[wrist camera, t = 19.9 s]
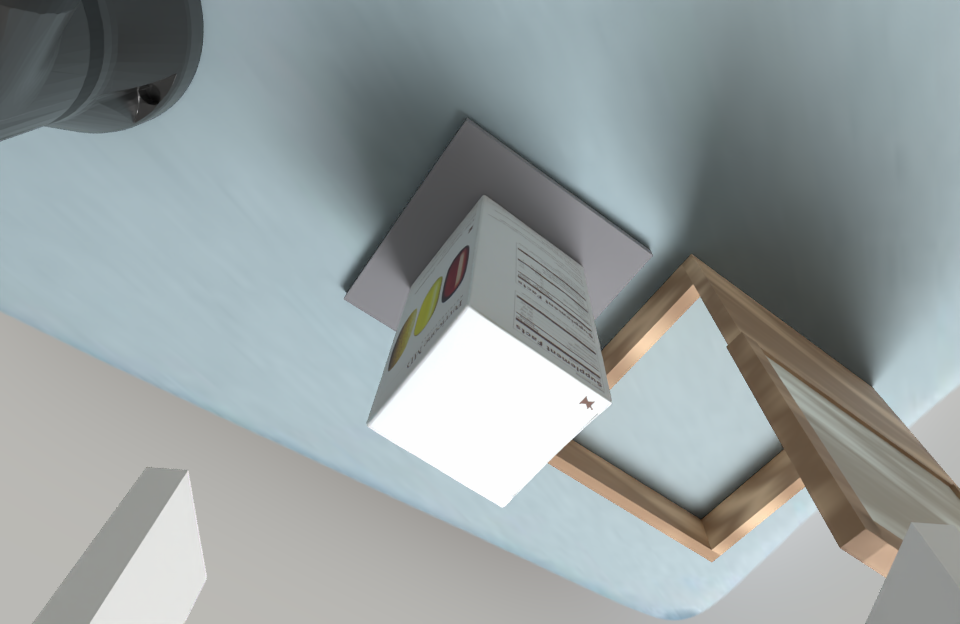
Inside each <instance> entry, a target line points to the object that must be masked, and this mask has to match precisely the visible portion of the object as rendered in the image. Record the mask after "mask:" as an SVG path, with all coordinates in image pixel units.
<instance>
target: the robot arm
mask: <svg viewBox="0 0 960 624" xmlns="http://www.w3.org/2000/svg"><path fill="white" fill-rule="evenodd" d="M202 45H203V13H202V7H201V1H200V0H0V141H3V140H6V139H9V138H11V137H14V136H17V135H20V134H23V133H26V132H29V131H32V130H34V129H37V128H40V127H43V126H45V127H51V128H57V129H63V130H70V131H76V132H83V133H109V132H116V131H121V130H125V129H129V128H132V127H134V126H137V125H139V124H142V123H144V122H146V121H149V120H151V119H153V118H155V117H157V116H159V115H161V114H162V113H164V112H165V111H167V110H168V109H169V108H170V107H172V106H173V105H174V104H175V103H176V102H177V101H178V100H179V99H180V98H181V96H182V95H183V94H184V92H185V91H186V90H187V88H188V86H189V85H190V83H191V81H192V79H193V77H194V75H195V72H196V70H197V67H198V64H199V61H200V56H201V52H202ZM206 579H207V574H206V569H205V563H204V557H203V552H202V547H201V540H200V534H199V529H198V523H197V517H196V512H195V506H194V501H193V494H192V489H191V483H190V477H189V472H188V470H180V469H166V468H152V467H146V469H145V470H144V471H143V473H142V474H141V476H140V477H139V478H138V480H137V481H136V482H135V484H134V485H133V486H132V488H131V489H130V490H129V492H128V493H127V495H126V496H125V497H124V499H123V500H122V501H121V503H120V504H119V506H118V507H117V508H116V510H115V511H114V512H113V514H112V515H111V517H110V518H109V519H108V521H107V522H106V523H105V525H104V526H103V527H102V529H101V530H100V532H99V533H98V534H97V536H96V537H95V538H94V540H93V541H92V543H91V544H90V545H89V547H88V548H87V549H86V551H85V552H84V554H83V555H82V556H81V558H80V559H79V560H78V562H77V563H76V564H75V566H74V567H73V569H72V570H71V571H70V573H69V574H68V575H67V577H66V578H65V580H64V581H63V582H62V584H61V585H60V586H59V588H58V589H57V591H56V592H55V593H54V595H53V596H52V597H51V599H50V600H49V601H48V603H47V604H46V606H45V607H44V608H43V610H42V611H41V612H40V614H39V615H38V616H37V618H36V619H35V621H34V622H33V623H32V624H184V623H185V621H186V619H187V617H188V615H189V613H190V611H191V609H192V607H193V605H194V603H195V601H196V599H197V597H198V595H199V593H200V591H201V589H202V587H203V585H204V583H205V581H206ZM865 624H960V532H959V531H958V529H957V528H956V527H955V526H954V525H944V524H930V523H916V522H911V524H910V527H909V529H908V531H907V533H906V535H905V538H904V540H903V542H902V544H901V546H900V548H899V551H898V553H897V555H896V557H895V559H894V562H893V564H892V566H891V568H890V570H889V573H888V575H887V577H886V579H885V581H884V584H883V586H882V588H881V590H880V592H879V595H878V597H877V599H876V601H875V603H874V606H873V608H872V610H871V612H870V614H869V616H868V619H867V621H866V623H865Z"/></svg>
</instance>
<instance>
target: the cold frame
mask: <svg viewBox="0 0 960 624" xmlns="http://www.w3.org/2000/svg"><path fill="white" fill-rule="evenodd" d="M699 297H701V299H702V300H703V302H704V304H705V306H706V307H707V309H708V311H709V313H710V314H711V316H712V318H713V320H714V321H715V323H716V325H717V327H718V328H719V330H720V332H721V334H722V335H723V337H724V339H725V341H726V342H727V344H728V346H727V349H728V351H729V352H730V354H731V356H732V358H733V360H734V361H735V363H736V365H737V367H738V368H739V370H740V372H741V374H742V375H743V377H744V379H745V381H746V383H747V384H748V386H749V388H750V390H751V391H752V393H753V395H754V397H755V398H756V400H757V402H758V404H759V406H760V407H761V409H762V411H763V413H764V414H765V416H766V418H767V420H768V421H769V423H770V425H771V427H772V429H773V430H774V432H775V434H776V436H777V437H778V439H779V441H780V443H781V444H782V446H783V448H784V450H782V451H781V452H780V453H779V454H778V455H777V456H775V457H774V458H773V459H772V460H771V461H770V462H768V463H767V464H766V465H765V466H764V467H762V468H761V469H760V470H759V471H758V472H757V473H755V474H754V475H753V476H752V477H751V478H750V479H748V480H747V481H746V482H745V483H744V484H743V485H741V486H740V487H739V488H738V489H737V490H736V491H734V492H733V493H732V494H731V495H730V496H728V497H727V498H726V499H725V500H724V501H723V502H721V503H720V504H719V505H718V506H717V507H716V508H714V509H713V510H712V511H711V512H710V513H709V514H707V515H706V516H705V517H704V518H703V519H702V520H701V519H699V518H698V517H696V516H694V515H693V514H691V513H690V512H688V511H686V510H685V509H683V508H681V507H680V506H678V505H677V504H675V503H673V502H672V501H670V500H669V499H667V498H665V497H664V496H662V495H660V494H659V493H657V492H656V491H654V490H652V489H651V488H649V487H648V486H646V485H644V484H643V483H641V482H640V481H638V480H636V479H635V478H633V477H631V476H630V475H628V474H627V473H625V472H623V471H622V470H620V469H619V468H617V467H615V466H614V465H612V464H610V463H609V462H607V461H606V460H604V459H602V458H601V457H599V456H598V455H596V454H594V453H593V452H591V451H590V450H588V449H586V448H585V447H583V446H581V445H580V444H578V443H577V442H575V441H573V440H571V441H570V442H569V443H567V444H566V445H565V446H564V447H563V448H562V449H561V450H560V451H559V452H558V453H557V454H556V455H555V456H554V457H553V458H552V459H551V460H550V461H549V462H548V464H550V465H552V466H553V467H555V468H557V469H558V470H560V471H562V472H563V473H565V474H567V475H568V476H570V477H572V478H573V479H575V480H576V481H578V482H580V483H581V484H583V485H585V486H586V487H588V488H590V489H591V490H593V491H595V492H596V493H598V494H600V495H601V496H603V497H605V498H606V499H608V500H610V501H611V502H613V503H615V504H616V505H618V506H620V507H621V508H623V509H625V510H626V511H628V512H630V513H631V514H633V515H634V516H636V517H638V518H639V519H641V520H643V521H644V522H646V523H648V524H649V525H651V526H653V527H654V528H656V529H658V530H659V531H661V532H663V533H664V534H666V535H668V536H669V537H671V538H673V539H674V540H676V541H678V542H679V543H681V544H683V545H684V546H686V547H687V548H689V549H691V550H692V551H694V552H696V553H697V554H699V555H701V556H702V557H704V558H706V559H707V560H709V561H711V562H713V561H714V560H715V559H717V558H718V557H719V556H720V555H722V554H723V553H724V552H725V551H726V550H728V549H729V548H730V547H731V546H733V545H734V544H735V543H736V542H738V541H739V540H740V539H741V538H742V537H744V536H745V535H746V534H747V533H749V532H750V531H751V530H752V529H754V528H755V527H756V526H757V525H759V524H760V523H761V522H762V521H763V520H765V519H766V518H767V517H768V516H770V515H771V514H772V513H773V512H775V511H776V510H777V509H778V508H779V507H781V506H782V505H783V504H784V503H786V502H787V501H788V500H789V499H791V498H792V497H793V496H794V495H795V494H797V493H798V492H799V491H800V490H802V489H803V488H804V487H806V489H807V491H808V492H809V494H810V496H811V498H812V499H813V501H814V503H815V505H816V506H817V508H818V510H819V512H820V513H821V515H822V517H823V519H824V520H825V522H826V524H827V526H828V528H829V529H830V531H831V533H832V535H833V536H834V538H835V540H836V542H837V544H838V545H839V547H840V548H841V549H842V550H844V551H845V552H847V553H848V554H850V555H852V556H853V557H855V558H856V559H858V560H860V561H861V562H862V563H864V564H865V565H867V566H868V567H870V568H872V569H873V570H875V571H876V572H878V573H880V574H881V575H882V576H884V577H885V578H886V577H887V575H888V573H889V570H890V568H891V566H892V564H893V562H894V559H895V557H896V555H897V553H898V551H899V548H900V546H901V544H902V542H903V540H904V538H905V535H906V533H907V531H908V529H909V527H910V524H911V522H916V523H930V524H944V525H954V526H955V527H956V528H957V529H958V531H959V532H960V488H959V487H958V486H957V485H956V484H955V483H954V482H953V480H952V479H951V478H950V477H949V476H948V475H947V474H946V472H945V471H944V470H943V469H942V468H941V466H940V465H939V464H938V463H937V462H936V461H935V459H934V458H933V457H932V456H931V455H930V454H929V453H928V452H927V450H926V449H925V448H924V447H923V446H922V444H921V443H920V442H919V441H918V440H917V439H916V437H915V436H914V435H913V434H912V433H911V432H910V430H909V429H908V428H907V427H906V426H905V425H904V423H903V422H902V421H901V420H900V419H899V418H898V416H897V415H896V414H895V413H894V412H893V411H892V409H891V408H890V407H889V406H888V405H887V404H886V402H885V401H884V400H883V399H882V398H881V397H880V395H879V394H878V393H877V392H876V391H875V390H874V388H873V387H871V386H870V385H869V384H867V383H866V382H865V381H863V380H862V379H861V378H859V377H858V376H856V375H855V374H854V373H852V372H851V371H850V370H848V369H847V368H846V367H844V366H843V365H842V364H840V363H839V362H837V361H836V360H835V359H833V358H832V357H831V356H829V355H828V354H827V353H825V352H824V351H823V350H821V349H820V348H819V347H817V346H816V345H814V344H813V343H812V342H810V341H809V340H808V339H806V338H805V337H804V336H802V335H801V334H800V333H798V332H797V331H795V330H794V329H793V328H791V327H790V326H789V325H787V324H786V323H785V322H783V321H782V320H781V319H779V318H778V317H776V316H775V315H774V314H772V313H771V312H770V311H768V310H767V309H766V308H764V307H763V306H762V305H760V304H759V303H757V302H756V301H755V300H753V299H752V298H751V297H749V296H748V295H747V294H745V293H744V292H743V291H741V290H740V289H739V288H737V287H736V286H734V285H733V284H732V283H730V282H729V281H728V280H726V279H725V278H724V277H722V276H721V275H720V274H718V273H717V272H715V271H714V270H713V269H711V268H710V267H709V266H707V265H706V264H705V263H703V262H702V261H701V260H699V259H698V258H696V257H695V256H694V255H692V254H691V255H690V256H689V257H688V258H687V259H686V260H685V261H684V262H683V263H682V264H681V266H680V267H679V268H678V269H677V270H676V271H675V272H674V273H673V274H672V275H671V276H670V277H669V278H668V280H667V281H666V282H665V283H664V284H663V285H662V286H661V287H660V288H659V289H658V290H657V291H656V292H655V294H654V295H653V296H652V297H651V298H650V299H649V300H648V301H647V302H646V303H645V304H644V305H643V306H642V308H641V309H640V310H639V311H638V312H637V313H636V314H635V315H634V316H633V317H632V318H631V319H630V321H629V322H628V323H627V324H626V325H625V326H624V327H623V328H622V329H621V330H620V331H619V332H618V333H617V335H616V336H615V337H614V338H613V339H612V340H611V341H610V342H609V343H608V344H607V345H606V346H605V347H604V349H603V350H602V351H601V353H602V357H603V362H604V366H605V371H606V376H607V381H608V385H609V390H610V389H611V388H612V387H613V386H614V385H615V384H616V383H617V382H618V381H619V380H620V379H621V378H622V377H623V376H624V375H625V374H626V373H627V372H628V371H629V370H630V369H631V367H632V366H633V365H634V364H635V363H636V362H637V361H638V360H639V359H640V358H641V357H642V356H643V355H644V354H645V353H646V352H647V351H648V350H649V349H650V348H651V347H652V346H653V345H654V344H655V343H656V342H657V341H658V340H659V338H660V337H661V336H662V335H663V334H664V333H665V332H666V331H667V330H668V329H669V328H670V327H671V326H672V325H673V324H674V323H675V322H676V321H677V320H678V319H679V318H680V317H681V316H682V315H683V314H684V313H685V312H686V310H687V309H688V308H689V307H690V306H691V305H692V304H693V303H694V302H695V301H696V300H697V299H698V298H699Z"/></svg>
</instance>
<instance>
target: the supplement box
mask: <svg viewBox="0 0 960 624" xmlns="http://www.w3.org/2000/svg"><path fill="white" fill-rule="evenodd" d="M611 404H612V399H611V394H610V390H609V385H608V381H607V376H606V371H605V366H604V362H603V357H602V353H601V348H600V343H599V339H598V335H597V331H596V326H595V321H594V316H593V311H592V307H591V302H590V297H589V293H588V288H587V283H586V279H585V274H584V269H583V267H582V266H581V265H580V264H578V263H577V262H576V261H574V260H573V259H572V258H570V257H569V256H568V255H566V254H565V253H564V252H562V251H561V250H560V249H558V248H557V247H555V246H554V245H553V244H551V243H550V242H549V241H547V240H546V239H544V238H543V237H542V236H540V235H539V234H538V233H536V232H535V231H533V230H532V229H531V228H529V227H528V226H527V225H525V224H524V223H523V222H521V221H520V220H519V219H517V218H516V217H515V216H513V215H512V214H511V213H509V212H508V211H507V210H505V209H504V208H502V207H501V206H500V205H498V204H497V203H496V202H494V201H493V200H492V199H490V198H489V197H487V196H486V195H483V196H482V197H481V198H480V199H479V201H478V202H477V203H476V204H475V206H474V207H473V208H472V210H471V211H470V212H469V213H468V215H467V216H466V217H465V218H464V220H463V221H462V222H461V223H460V225H459V226H458V227H457V228H456V230H455V231H454V232H453V233H452V235H451V236H450V237H449V238H448V240H447V241H446V242H445V243H444V245H443V246H442V247H441V249H440V250H439V251H438V252H437V254H436V255H435V256H434V258H433V259H432V260H431V261H430V263H429V264H428V265H427V266H426V268H425V269H424V270H423V272H422V273H421V274H420V275H419V277H418V278H417V279H416V280H415V282H414V283H413V285H412V286H411V288H410V291H409V294H408V297H407V300H406V303H405V306H404V309H403V312H402V315H401V318H400V322H399V325H398V328H397V331H396V334H395V337H394V340H393V344H392V347H391V349H390V353H389V356H388V359H387V362H386V365H385V368H384V371H383V374H382V378H381V381H380V384H379V387H378V390H377V393H376V396H375V399H374V402H373V405H372V408H371V411H370V414H369V417H368V420H367V426H368V427H369V428H371V429H372V430H374V431H375V432H377V433H378V434H380V435H382V436H383V437H385V438H387V439H388V440H390V441H391V442H393V443H395V444H396V445H398V446H400V447H401V448H403V449H405V450H407V451H408V452H410V453H412V454H413V455H415V456H417V457H419V458H420V459H422V460H424V461H425V462H427V463H429V464H430V465H432V466H434V467H435V468H437V469H439V470H440V471H442V472H444V473H445V474H447V475H448V476H450V477H452V478H453V479H455V480H457V481H458V482H460V483H462V484H463V485H465V486H466V487H468V488H470V489H472V490H473V491H475V492H477V493H478V494H480V495H482V496H483V497H485V498H487V499H489V500H490V501H492V502H494V503H495V504H497V505H499V506H500V507H505V506H506V505H507V504H508V503H509V502H510V500H511V499H512V498H513V497H514V496H515V495H516V494H517V493H518V492H519V491H520V490H521V489H522V488H523V487H524V486H525V485H526V484H527V483H528V482H529V481H530V480H531V479H532V478H533V477H534V476H535V475H536V474H537V473H538V472H539V471H540V470H541V469H542V468H543V467H544V466H545V465H546V464H547V463H548V462H549V461H550V460H551V459H552V458H553V457H554V456H555V455H556V454H557V453H558V452H559V451H560V450H561V449H562V448H563V447H564V446H565V445H566V444H567V443H569V442H570V441H571V440H572V439H573V438H574V437H575V436H576V435H577V434H578V433H579V432H581V431H582V430H583V429H584V428H585V427H586V426H587V425H588V424H589V423H590V422H591V421H592V420H594V419H595V418H596V417H597V416H598V415H599V414H600V413H602V412H603V411H604V410H605V409H606V408H608V407H609V406H610V405H611Z"/></svg>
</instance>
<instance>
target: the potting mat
mask: <svg viewBox="0 0 960 624" xmlns="http://www.w3.org/2000/svg"><path fill="white" fill-rule="evenodd" d="M483 195H486V196H487V197H489V198H490V199H492V200H493V201H494V202H496V203H497V204H498V205H500V206H501V207H502V208H504V209H505V210H507V211H508V212H509V213H511V214H512V215H513V216H515V217H516V218H517V219H519V220H520V221H521V222H523V223H524V224H525V225H527V226H528V227H529V228H531V229H532V230H533V231H535V232H536V233H538V234H539V235H540V236H542V237H543V238H544V239H546V240H547V241H549V242H550V243H551V244H553V245H554V246H555V247H557V248H558V249H560V250H561V251H562V252H564V253H565V254H566V255H568V256H569V257H570V258H572V259H573V260H574V261H576V262H577V263H578V264H580V265H581V266H582V267H583V269H584V274H585V279H586V283H587V288H588V293H589V297H590V302H591V307H592V311H593V316H594V320H595V319H596V318H597V317H598V316H599V315H600V314H601V313H602V312H603V310H604V309H605V308H606V307H607V306H608V305H609V304H610V303H611V302H612V300H613V299H614V298H615V297H616V296H617V295H618V294H619V293H620V292H621V290H622V289H623V288H624V287H625V286H626V285H627V284H628V283H629V282H630V280H631V279H632V278H633V277H634V276H635V275H636V274H637V273H638V272H639V270H640V269H641V268H642V267H643V266H644V265H645V264H646V263H647V261H648V260H649V259H650V258H651V257H652V256H653V255H652V253H651V251H650V250H649V249H648V248H646V247H645V246H644V245H642V244H641V243H640V242H638V241H637V240H635V239H634V238H633V237H631V236H630V235H629V234H627V233H626V232H624V231H623V230H622V229H620V228H619V227H618V226H616V225H615V224H613V223H612V222H611V221H609V220H608V219H607V218H605V217H604V216H602V215H601V214H600V213H598V212H597V211H596V210H594V209H593V208H591V207H590V206H589V205H587V204H586V203H584V202H583V201H582V200H580V199H579V198H578V197H576V196H575V195H573V194H572V193H571V192H569V191H568V190H567V189H565V188H564V187H562V186H561V185H560V184H558V183H557V182H556V181H554V180H553V179H551V178H550V177H549V176H547V175H546V174H545V173H543V172H542V171H540V170H539V169H538V168H536V167H535V166H533V165H532V164H531V163H529V162H528V161H527V160H525V159H524V158H522V157H521V156H520V155H518V154H517V153H516V152H514V151H513V150H511V149H510V148H509V147H507V146H506V145H505V144H503V143H502V142H500V141H499V140H498V139H496V138H495V137H494V136H492V135H491V134H489V133H488V132H487V131H485V130H484V129H482V128H481V127H480V126H478V125H477V124H476V123H474V122H473V121H471V120H470V119H469V118H466V120H465V121H464V123H463V124H462V126H461V127H460V129H459V130H458V132H457V133H456V134H455V136H454V137H453V139H452V140H451V142H450V143H449V145H448V146H447V148H446V149H445V150H444V152H443V153H442V155H441V156H440V158H439V159H438V161H437V162H436V164H435V165H434V167H433V168H432V169H431V171H430V172H429V174H428V175H427V177H426V178H425V180H424V181H423V183H422V184H421V185H420V187H419V188H418V190H417V191H416V193H415V194H414V196H413V197H412V199H411V200H410V202H409V203H408V204H407V206H406V207H405V209H404V210H403V212H402V213H401V215H400V216H399V218H398V219H397V220H396V222H395V223H394V225H393V226H392V228H391V229H390V231H389V232H388V234H387V235H386V237H385V238H384V239H383V241H382V242H381V244H380V245H379V247H378V248H377V250H376V251H375V253H374V254H373V255H372V257H371V258H370V260H369V261H368V263H367V264H366V266H365V267H364V269H363V270H362V272H361V273H360V274H359V276H358V277H357V279H356V280H355V282H354V283H353V285H352V286H351V288H350V289H349V290H348V292H347V293H346V295H345V297H344V300H346V301H348V302H349V303H351V304H352V305H354V306H356V307H357V308H359V309H361V310H362V311H364V312H365V313H367V314H369V315H370V316H372V317H373V318H375V319H377V320H378V321H380V322H382V323H383V324H385V325H386V326H388V327H390V328H391V329H393V330H394V331H397V328H398V325H399V322H400V318H401V315H402V312H403V309H404V306H405V303H406V300H407V297H408V294H409V291H410V288H411V286H412V285H413V283H414V282H415V280H416V279H417V278H418V277H419V275H420V274H421V273H422V272H423V270H424V269H425V268H426V266H427V265H428V264H429V263H430V261H431V260H432V259H433V258H434V256H435V255H436V254H437V252H438V251H439V250H440V249H441V247H442V246H443V245H444V243H445V242H446V241H447V240H448V238H449V237H450V236H451V235H452V233H453V232H454V231H455V230H456V228H457V227H458V226H459V225H460V223H461V222H462V221H463V220H464V218H465V217H466V216H467V215H468V213H469V212H470V211H471V210H472V208H473V207H474V206H475V204H476V203H477V202H478V201H479V199H480V198H481V197H482V196H483Z"/></svg>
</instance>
